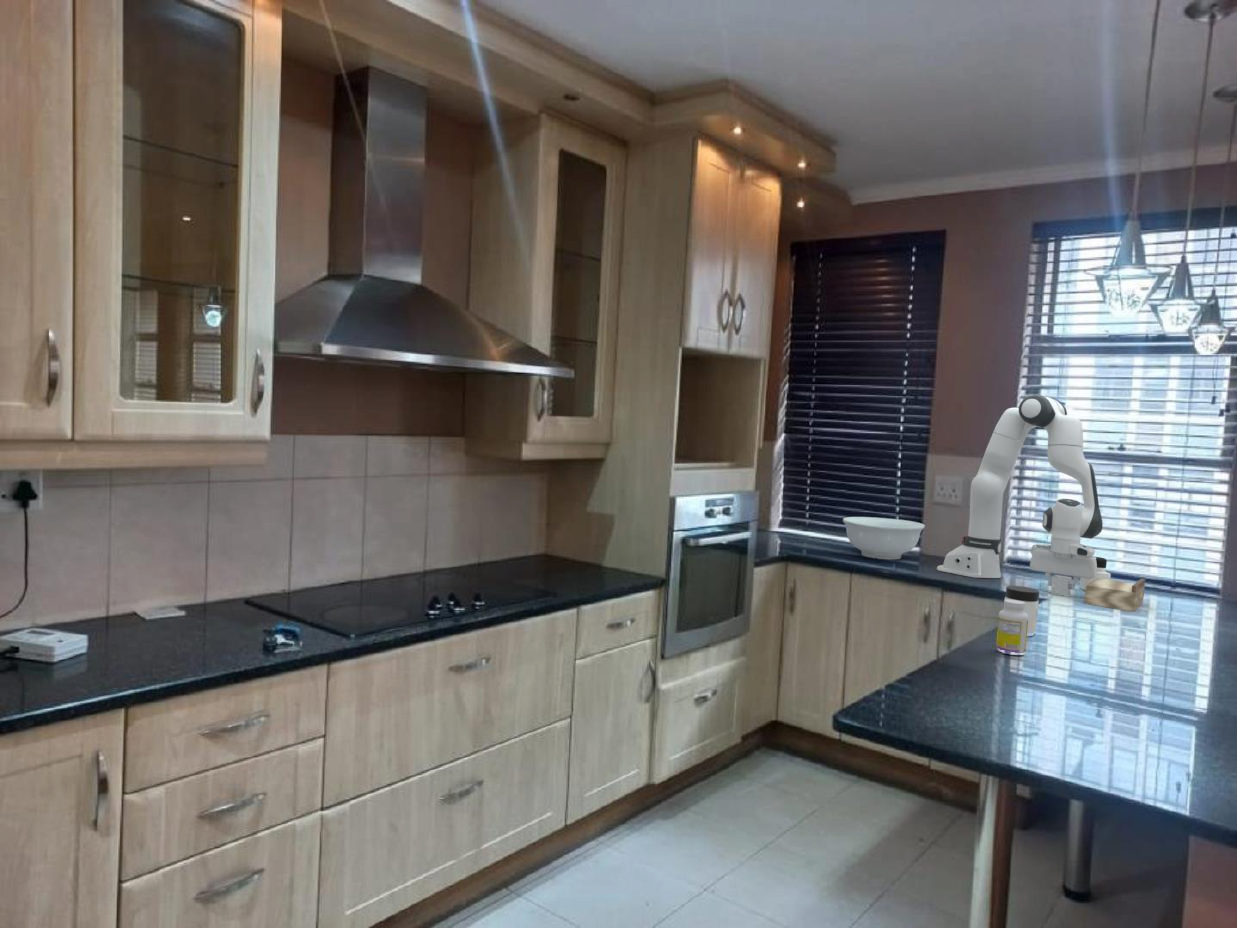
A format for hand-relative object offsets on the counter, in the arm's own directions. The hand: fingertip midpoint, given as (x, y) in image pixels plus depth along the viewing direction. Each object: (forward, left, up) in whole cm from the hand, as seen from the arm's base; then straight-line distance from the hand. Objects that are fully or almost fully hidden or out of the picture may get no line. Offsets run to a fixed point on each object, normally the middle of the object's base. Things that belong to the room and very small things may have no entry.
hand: (1061, 587), depth 291 cm
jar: (+4, -73, -3) cm, 73 cm away
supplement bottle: (+8, -98, -3) cm, 98 cm away
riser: (+16, 0, -2) cm, 16 cm away
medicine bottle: (+7, +19, -3) cm, 20 cm away
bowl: (-71, +20, -3) cm, 74 cm away
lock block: (0, 0, -2) cm, 2 cm away
